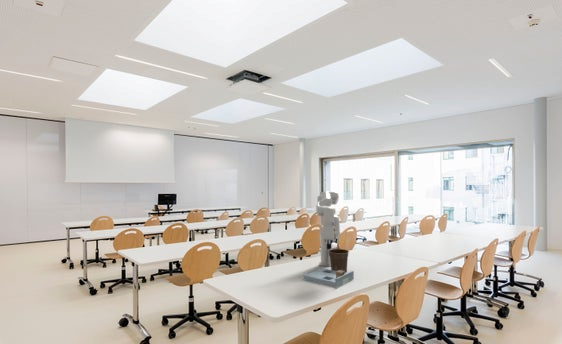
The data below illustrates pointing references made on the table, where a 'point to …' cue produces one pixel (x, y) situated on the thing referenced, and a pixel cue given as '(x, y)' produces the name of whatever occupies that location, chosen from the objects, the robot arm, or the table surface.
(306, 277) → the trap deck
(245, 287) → the table surface
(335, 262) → the plant pot
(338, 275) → the walnut cube
